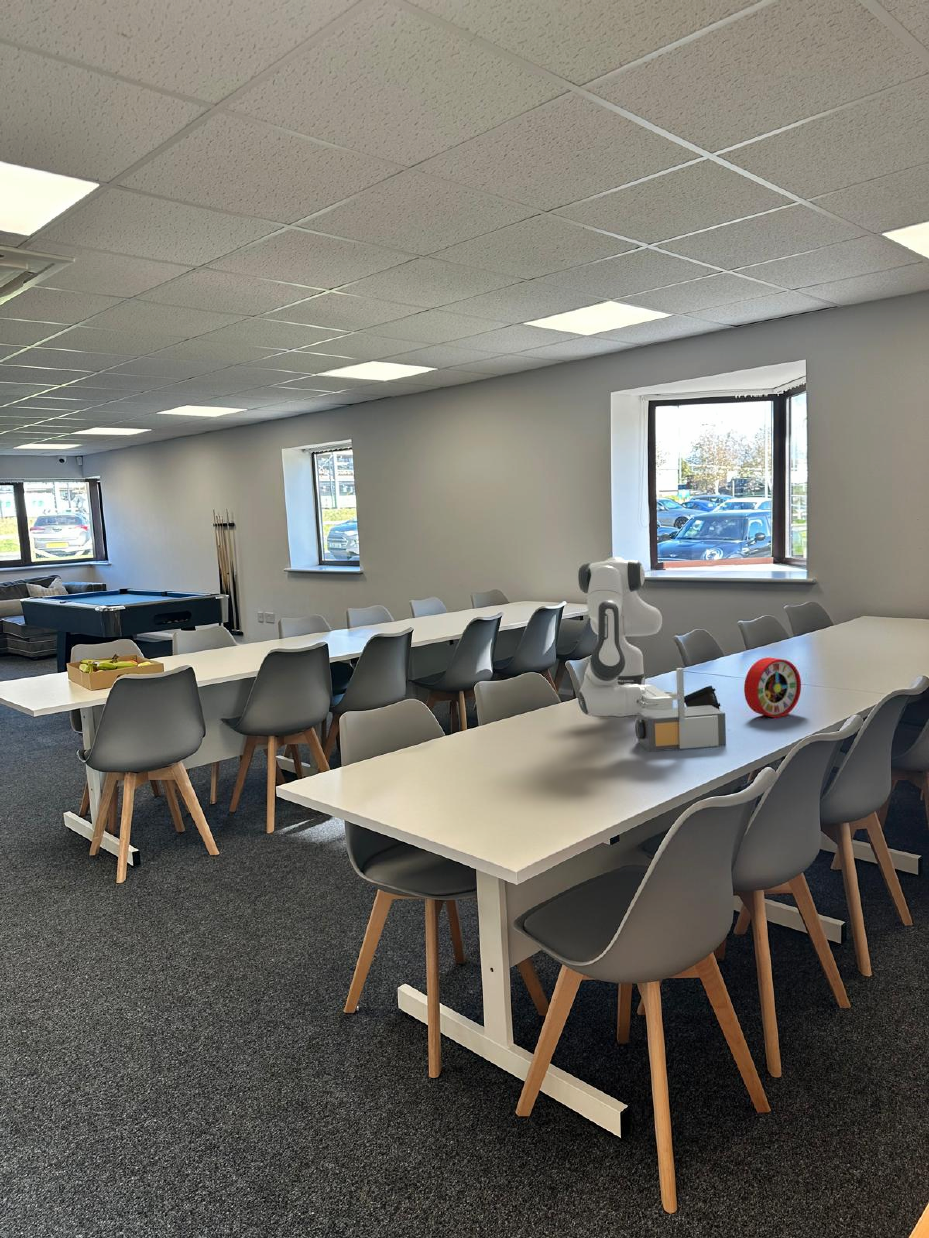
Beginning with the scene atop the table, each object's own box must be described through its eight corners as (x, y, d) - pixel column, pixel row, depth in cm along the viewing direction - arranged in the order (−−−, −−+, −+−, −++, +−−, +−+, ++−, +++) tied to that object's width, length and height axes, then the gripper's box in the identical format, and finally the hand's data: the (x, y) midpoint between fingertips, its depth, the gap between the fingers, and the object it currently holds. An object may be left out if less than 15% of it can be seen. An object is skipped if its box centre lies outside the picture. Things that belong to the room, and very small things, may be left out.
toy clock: (757, 721, 286) (755, 663, 284) (744, 718, 292) (743, 661, 289) (801, 713, 294) (800, 656, 292) (788, 710, 300) (787, 654, 297)
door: (681, 749, 256) (678, 669, 254) (679, 747, 258) (676, 668, 255) (719, 746, 257) (717, 666, 255) (717, 744, 259) (715, 665, 256)
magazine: (724, 730, 270) (706, 686, 274) (694, 742, 280) (677, 699, 284) (731, 728, 273) (713, 684, 276) (701, 739, 283) (684, 697, 286)
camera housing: (644, 752, 257) (643, 719, 256) (633, 742, 269) (631, 711, 268) (726, 745, 259) (725, 713, 258) (711, 735, 271) (710, 705, 270)
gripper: (642, 695, 244) (689, 691, 245) (623, 682, 264) (666, 679, 265) (643, 716, 244) (690, 713, 246) (624, 702, 265) (667, 699, 266)
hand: (677, 695), depth 255 cm, fingers closed, pressing on door
